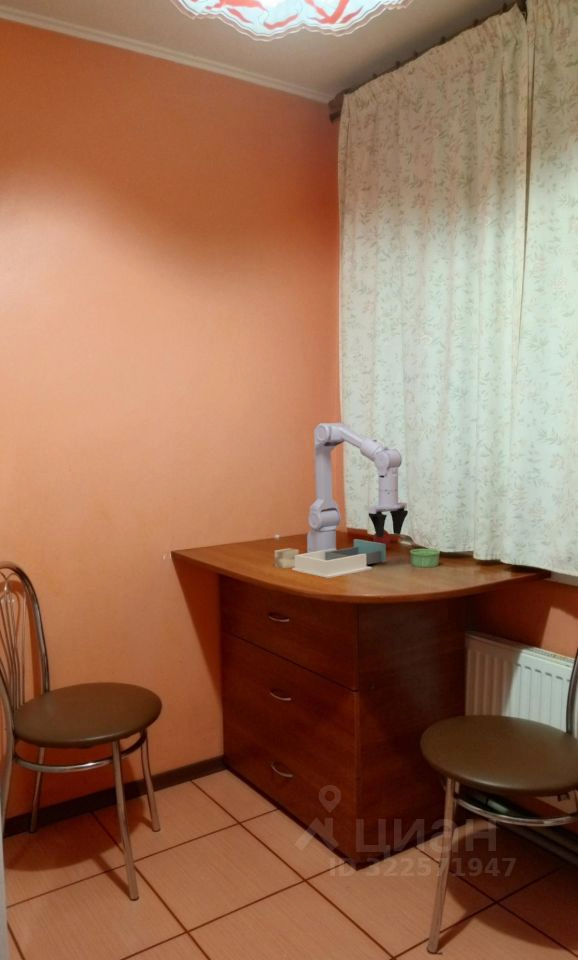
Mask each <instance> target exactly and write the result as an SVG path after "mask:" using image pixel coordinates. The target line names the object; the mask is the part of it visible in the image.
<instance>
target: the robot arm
mask: <svg viewBox="0 0 578 960" xmlns="http://www.w3.org/2000/svg"><path fill="white" fill-rule="evenodd" d="M313 436H314V437H313V438H314V443H313V453H314V454H313V458H314V479H315V481H314V482H315V483H314V484H315V501H314V502H313V503H312V504H311V505H310V506H309V514H308V518H307V519H308V524H309V526H310V528H311V529H310V530H309V531H308V532H307V537H306V545H307V546H306V547H307V550H306V551H307V552H306V553H311V552H316V551H322V550H328V549H337V531H336V530H337V529H338V526H340V524H341V521H342V516H341V515H342V514H341V513H340V510H339V504H338V503H337V502H336V501H335V500H334V499H333V497H334V496H333V473H332V452H333V450H334V449H335V448H336V447H338V446H339V445H341V444H343V443H345V442H346V443H348V444H349V445H352V446H354V447H355V448H358V449H359V452H360V454H361V455H362V456H364V457H365V458H367V459H369V460H370V461H371V462H373V463H374V466H375V467H376V472H377V475H378V504H375V505H372V506H369V508H368V509H369V512H368V517H369V518H370V521H371V522H372V524H373V528H374V531H375V533H376V536H377V537H383V535H384V530H385V522H386V520H387V517H388V515H387V514H384V513H387V512H390V516H391V519H392V520H391V521H392V529H393V530H392V531H393V534H395V535H401V532H402V529H403V525H404V522H405V519H406V517H407V516H408V513H409V510H407V509H408V503H407V502H399V468H400V466H401V465H402V462H403V456H402V454H401V452H400V451H399V450H398V449H396V448H391V449H390V448H388V446H387V445H383V444H381V443H380V442H378V439H377V438H375V437H372V438H369V437H368V438H365V437H364V436H362V435H361V434H359V433H358V432H357V431H355V430H354V429H352V428H351V426H350V425H349V424H346V423H345V422H330V423H329V422H327V423H325V422H321V423H319V424H318V425H317V426H316V427H315V428H314V429H313Z"/></svg>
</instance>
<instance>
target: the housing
mask: <svg viewBox="0 0 578 960" xmlns="http://www.w3.org/2000/svg"><path fill="white" fill-rule="evenodd" d="M335 550H338V549H337V548H336V549H328V550H322V551H316V552H311V553H307V552H306V553H300V554H299V555H295V566H294V567H291V569H292V571H295V572H300V573H304V574H307V575H308V574H309V575H313V576H317V577H322V578H326V579H332V578H337V577H340V576H346V575H350V574H354V573H361V572H364V571H365V572H366V571H370V570H372V569H373V567H372V566H368V565H367V564H366V554H359V555H354V556H349V557H343V558H338V559H333V560H327V561H326V560H325V552H330V551H335Z"/></svg>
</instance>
